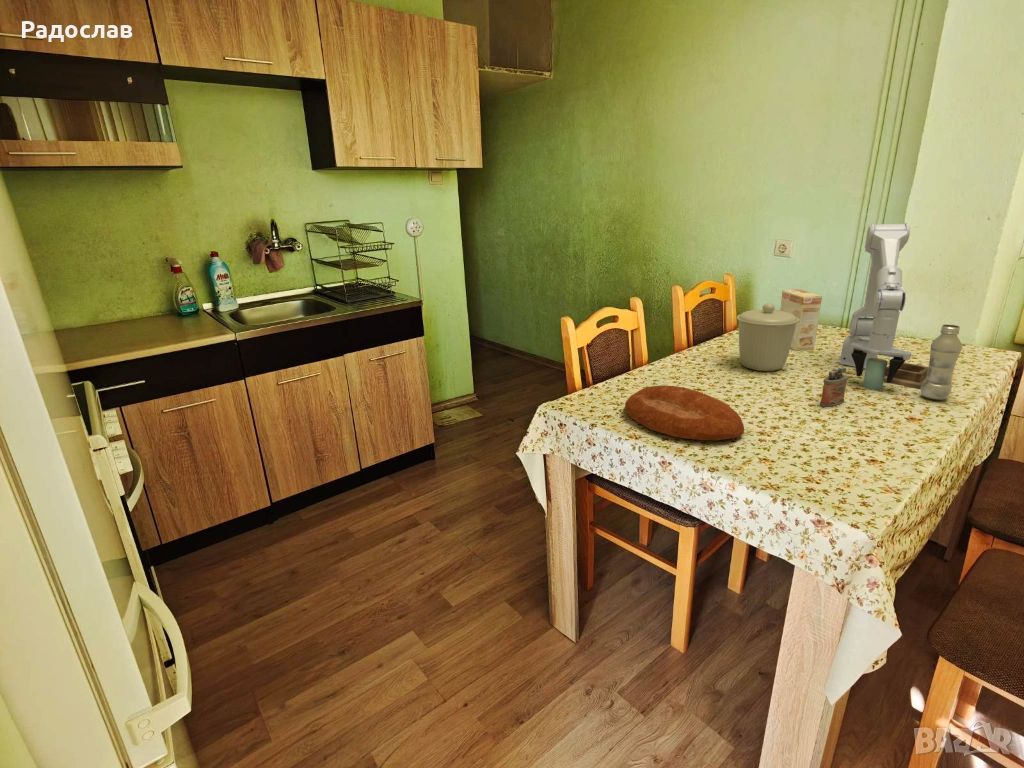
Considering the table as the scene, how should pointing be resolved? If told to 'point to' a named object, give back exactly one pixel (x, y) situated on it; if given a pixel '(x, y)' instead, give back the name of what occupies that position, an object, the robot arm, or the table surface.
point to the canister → (765, 337)
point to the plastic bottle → (942, 364)
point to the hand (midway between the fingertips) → (873, 378)
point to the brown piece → (909, 375)
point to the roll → (874, 373)
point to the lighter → (834, 388)
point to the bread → (684, 413)
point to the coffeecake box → (802, 316)
